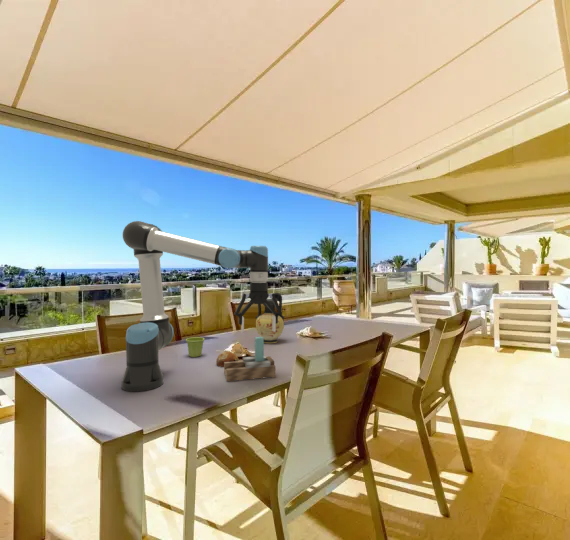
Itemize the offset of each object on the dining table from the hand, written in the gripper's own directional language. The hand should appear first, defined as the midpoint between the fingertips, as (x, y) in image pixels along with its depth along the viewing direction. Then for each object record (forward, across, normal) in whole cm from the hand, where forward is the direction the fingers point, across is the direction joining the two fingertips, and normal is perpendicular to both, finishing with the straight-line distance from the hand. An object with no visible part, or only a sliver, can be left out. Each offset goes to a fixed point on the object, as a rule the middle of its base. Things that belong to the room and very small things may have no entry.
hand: (258, 331), depth 148 cm
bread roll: (+19, -11, +18) cm, 28 cm away
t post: (+16, 0, 0) cm, 16 cm away
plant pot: (+19, -26, +39) cm, 50 cm away
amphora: (+18, +18, +60) cm, 65 cm away
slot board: (+18, -4, 0) cm, 19 cm away
